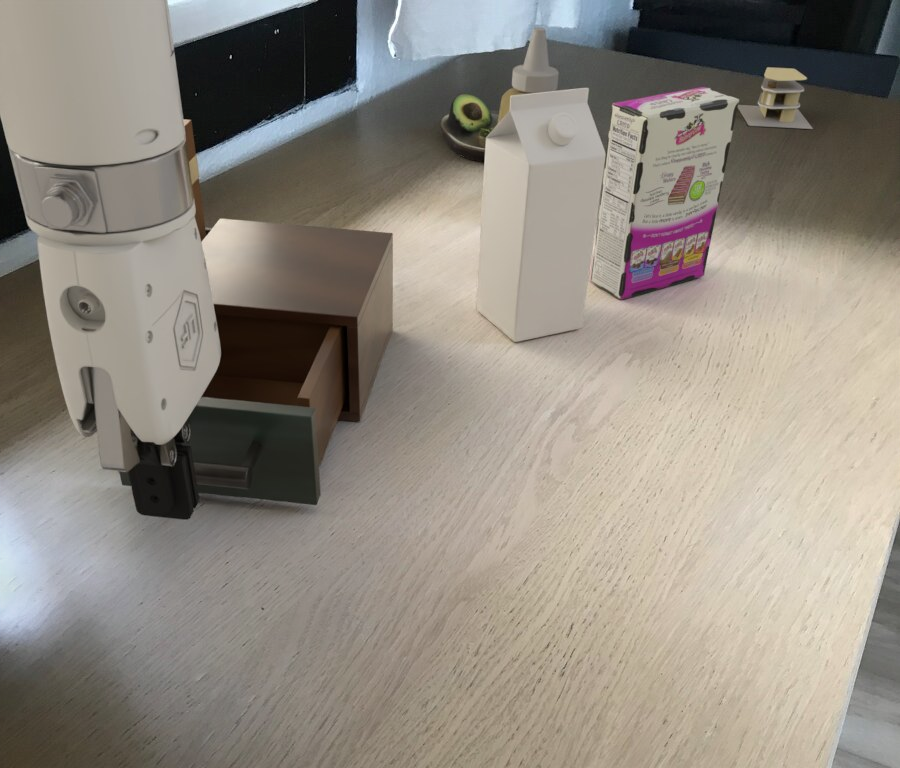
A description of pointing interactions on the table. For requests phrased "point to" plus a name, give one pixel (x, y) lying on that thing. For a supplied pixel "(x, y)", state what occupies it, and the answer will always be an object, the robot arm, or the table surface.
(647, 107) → the candy bar box
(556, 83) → the squeeze bottle
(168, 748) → the table surface
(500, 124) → the milk carton
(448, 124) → the salad plate
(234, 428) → the drawer
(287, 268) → the cabinet
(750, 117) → the stacked layers on plate
